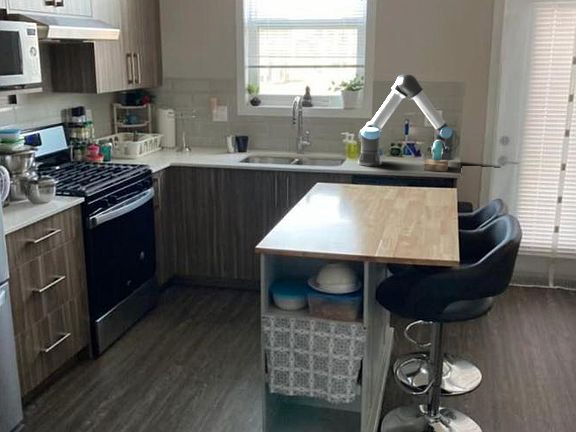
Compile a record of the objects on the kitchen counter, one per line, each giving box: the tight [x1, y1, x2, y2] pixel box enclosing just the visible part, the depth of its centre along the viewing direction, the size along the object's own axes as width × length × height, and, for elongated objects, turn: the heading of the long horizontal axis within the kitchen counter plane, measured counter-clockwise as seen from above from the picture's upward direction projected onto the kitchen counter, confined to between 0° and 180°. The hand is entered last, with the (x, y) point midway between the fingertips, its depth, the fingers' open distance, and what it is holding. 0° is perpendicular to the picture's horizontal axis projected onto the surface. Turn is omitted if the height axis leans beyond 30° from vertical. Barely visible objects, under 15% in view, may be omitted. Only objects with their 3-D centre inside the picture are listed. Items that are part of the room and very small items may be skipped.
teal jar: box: [431, 141, 443, 161], centre depth 403 cm, size 6×6×11 cm
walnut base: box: [423, 158, 449, 172], centre depth 405 cm, size 14×18×4 cm
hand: (437, 151), depth 398 cm, fingers closed on teal jar, 5 cm apart
